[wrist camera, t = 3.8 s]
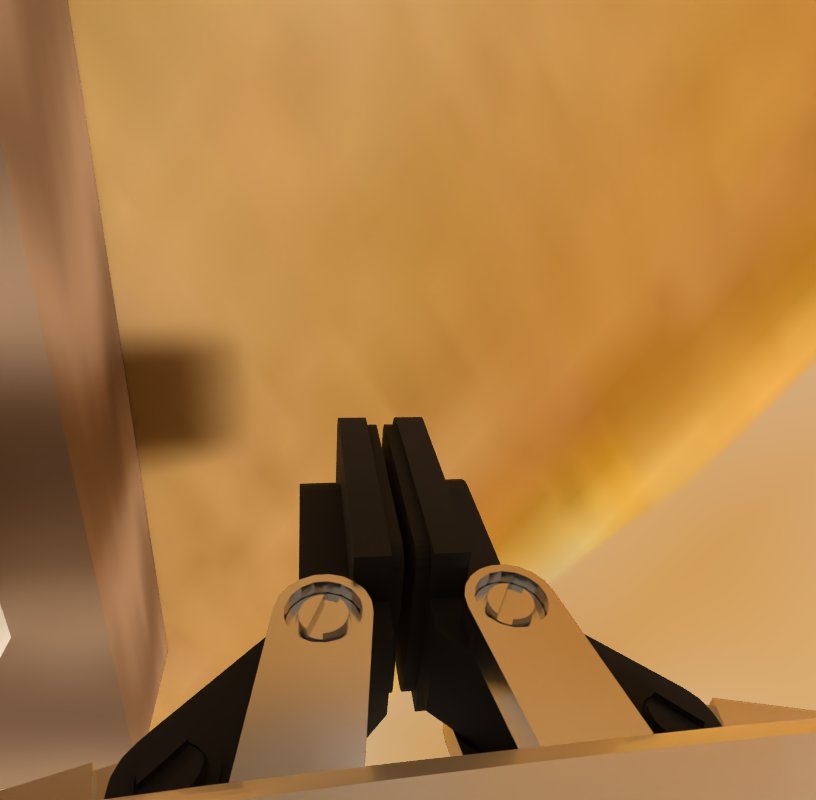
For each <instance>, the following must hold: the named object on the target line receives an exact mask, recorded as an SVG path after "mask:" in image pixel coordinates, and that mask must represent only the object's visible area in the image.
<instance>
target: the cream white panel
mask: <svg viewBox="0 0 816 800" xmlns="http://www.w3.org/2000/svg"><path fill="white" fill-rule="evenodd" d="M10 638H11V635H10V632H9V629H8V626H7V623H6V620H5V617H4V614H3V611H2V608H1V604H0V657H1V655H2V653H3V652H4V650H5V648H6V646H7V644H8V642H9V640H10Z"/></svg>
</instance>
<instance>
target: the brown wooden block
mask: <svg viewBox="0 0 816 800" xmlns="http://www.w3.org/2000/svg"><path fill="white" fill-rule="evenodd" d="M0 604H1V608H2V611H3V614H4V617H5V620H6V623H7V626H8V629H9V632H10V635H11V638H10V640H9V642H8V644H7V646H6V648H5V650H4V652H3V653H2V655H1V657H0V789H8V788H11V787H14V786H17V785H21V784H24V783H27V782H30V781H33V780H37V779H40V778H43V777H46V776H49V775H53V774H56V773H59V772H62V771H66V770H69V769H72V768H75V767H78V766H82V765H85V764H88V763H91V762H92V763H93V766H94V770H97V769H101V768H104V767H107V766H110V765H113V764H116V763H119V761H120V760H121V758H122V757H123V756H124V755H125V754H126V753H127V752H128V751H129V750H130V749H131V748H132V747H133V746H134V745H135V744H136V743H137V742H138V741H139V740H141V739H142V738H143V737H144V736H145V735H147V734H148V732H149V728H150V724H151V719H152V715H153V711H154V707H155V703H156V699H157V695H158V691H159V686H160V682H161V678H162V674H163V670H164V666H165V662H166V657H167V653H168V650H167V643H166V637H165V630H164V624H163V617H162V611H161V604H160V598H159V591H158V585H157V578H156V572H155V565H154V559H153V552H152V546H151V539H150V533H149V526H148V520H147V513H146V507H145V500H144V493H143V487H142V480H141V474H140V467H139V461H138V454H137V448H136V441H135V435H134V428H133V422H132V415H131V409H130V402H129V396H128V389H127V383H126V376H125V370H124V363H123V357H122V350H121V344H120V337H119V331H118V324H117V318H116V311H115V305H114V298H113V292H112V285H111V279H110V272H109V266H108V259H107V253H106V246H105V240H104V233H103V227H102V220H101V214H100V207H99V201H98V194H97V188H96V181H95V175H94V168H93V162H92V155H91V149H90V142H89V136H88V129H87V123H86V116H85V110H84V103H83V97H82V90H81V84H80V77H79V71H78V64H77V58H76V51H75V45H74V38H73V32H72V25H71V19H70V12H69V6H68V0H0Z"/></svg>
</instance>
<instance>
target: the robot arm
mask: <svg viewBox="0 0 816 800" xmlns="http://www.w3.org/2000/svg"><path fill="white" fill-rule="evenodd" d="M395 661H396V668H397V674H398V680H399V685H400V689H401V691H402V692H403V691H411V692H412V697H413V702H414V708H415V711H425V710H426V711H427V712H429V713H430V714H432V715H433V716H434V717H436V718H437V719H439V720H440V721H442V722H443V734H444V739H445V743H446V745H447V748H448V751H449V753H450V756H451V757H444V758H435V759H426V760H418V761H409V762H400V763H391V764H383V765H374V766H366V767H365V756H366V738H367V737H368V736H369V735H370V733H371V732H372V731H373V730H374V729H375V728H376V727H377V725H378V724H379V723H380V722H381V721H382V719H383V718H384V717H385V716H386V714H387V706H388V695H389V693H391V692H392V689H393V680H394V669H395ZM0 800H816V711H813V710H805V709H797V708H789V707H781V706H773V705H766V704H757V703H749V702H742V701H733V700H725V699H718V698H712V700H711V702H710V704H709V705H705V704H704V703H703V702H702V701H701V700H700V699H699V698H698V697H696V696H695V695H693V694H692V693H690V692H689V691H687V690H686V689H684V688H683V687H681V686H679V685H677V684H675V683H673V682H672V681H670V680H667V679H666V678H664V677H662V676H660V675H659V674H657V673H655V672H653V671H651V670H649V669H648V668H646V667H644V666H642V665H640V664H638V663H636V662H635V661H632V660H631V659H629V658H627V657H625V656H623V655H622V654H620V653H618V652H616V651H614V650H613V649H611V648H609V647H607V646H605V645H603V644H602V643H600V642H598V641H596V640H594V639H592V638H590V637H589V636H587V635H585V634H584V633H583V632H582V631H581V629H580V628H579V626H578V625H577V623H576V622H575V621H574V619H573V618H572V616H571V615H570V613H569V612H568V611H567V609H566V608H565V606H564V605H563V604H562V602H561V601H560V599H559V598H558V596H557V595H556V594H555V592H554V591H553V589H552V588H551V587H550V586H549V585H548V584H547V583H546V582H545V581H544V580H543V579H542V578H540V577H539V576H537V575H536V574H534V573H533V572H530V571H528V570H525V569H523V568H520V567H516V566H511V565H500V562H499V560H498V557H497V555H496V553H495V550H494V548H493V545H492V543H491V541H490V538H489V536H488V534H487V531H486V529H485V526H484V524H483V522H482V519H481V517H480V514H479V512H478V510H477V507H476V505H475V502H474V500H473V498H472V495H471V493H470V491H469V488H468V486H467V484H466V482H465V481H464V480H462V479H451V480H445V478H444V475H443V472H442V470H441V467H440V464H439V462H438V459H437V456H436V453H435V451H434V448H433V445H432V443H431V440H430V437H429V434H428V432H427V429H426V426H425V423H424V421H423V419H422V417H395V418H394V420H393V425H384V427H383V438H382V447H381V443H380V438H379V434H378V429H377V425H367V421H366V418H338V424H337V461H336V483H311V484H300V536H299V580H298V581H297V582H295V583H293V584H291V585H290V586H288V587H287V588H286V589H285V590H284V591H283V592H282V593H281V594H280V595H279V597H278V599H277V601H276V603H275V605H274V607H273V611H272V615H271V619H270V623H269V627H268V631H267V634H266V637H265V638H264V639H263V640H261V641H260V642H259V643H258V644H257V645H255V646H254V647H253V648H252V649H250V650H249V651H248V652H247V653H246V654H244V655H243V656H242V657H241V658H239V659H238V660H237V661H236V662H235V663H233V664H232V665H231V666H230V667H228V668H227V669H226V670H225V671H224V672H222V673H221V674H220V675H219V676H217V677H216V678H215V679H214V680H213V681H211V682H210V683H209V684H208V685H206V686H205V687H204V688H203V689H202V690H200V691H199V692H198V693H197V694H195V695H194V696H193V697H192V698H191V699H189V700H188V701H187V702H186V703H184V704H183V705H182V706H181V707H180V708H178V709H177V710H176V711H175V712H173V713H172V714H171V715H170V716H169V717H167V718H166V719H165V720H164V721H163V722H161V723H160V724H159V725H158V726H156V727H155V728H154V729H153V730H152V731H150V732H149V733H148V734H147V735H145V736H144V737H143V738H142V739H141V740H139V741H138V742H137V743H136V744H135V745H134V746H133V747H132V748H131V749H130V750H129V751H128V752H127V753H126V754H125V755H124V756H123V757H122V758H121V760H120V761H119V763H116V764H113V765H110V766H107V767H104V768H101V769H97V770H94V766H93V763H92V762H91V763H88V764H85V765H82V766H78V767H75V768H72V769H69V770H66V771H62V772H59V773H56V774H53V775H49V776H46V777H43V778H40V779H37V780H33V781H30V782H27V783H24V784H21V785H17V786H14V787H11V788H8V789H4V790H1V791H0Z"/></svg>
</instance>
